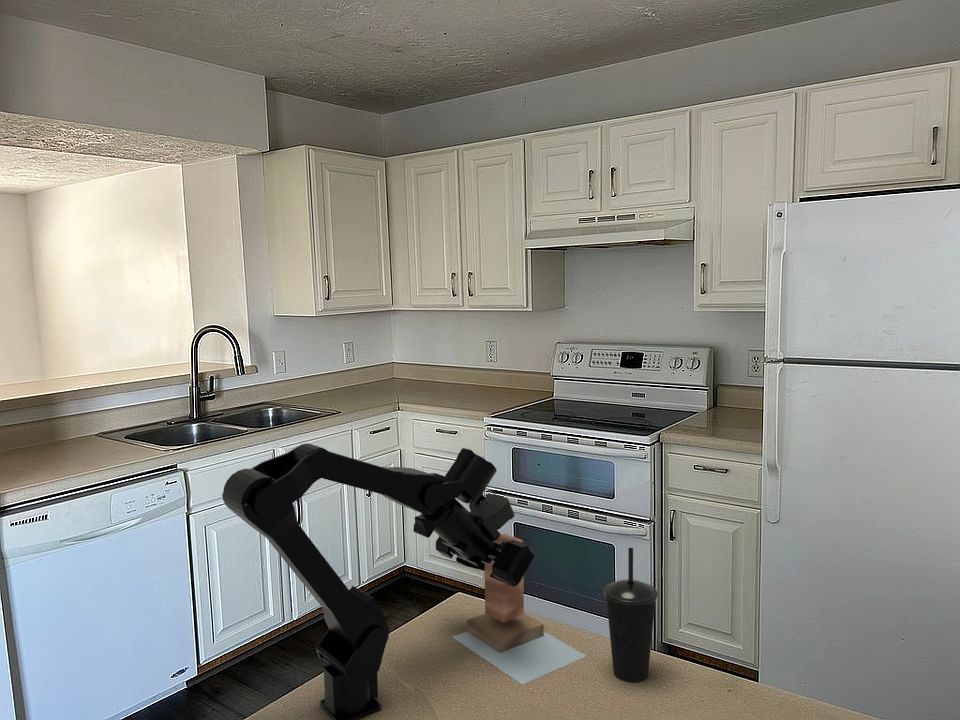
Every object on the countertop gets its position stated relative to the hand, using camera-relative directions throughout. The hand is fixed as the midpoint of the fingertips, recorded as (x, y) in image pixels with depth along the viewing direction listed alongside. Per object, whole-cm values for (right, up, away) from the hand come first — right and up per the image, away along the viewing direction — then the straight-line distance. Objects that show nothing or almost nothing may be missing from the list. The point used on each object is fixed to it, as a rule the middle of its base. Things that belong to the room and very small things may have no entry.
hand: (510, 576), depth 119 cm
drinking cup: (+17, -12, -13) cm, 24 cm away
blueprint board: (+1, -11, -4) cm, 12 cm away
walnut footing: (-1, -9, 0) cm, 10 cm away
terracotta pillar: (-1, -6, 0) cm, 6 cm away
